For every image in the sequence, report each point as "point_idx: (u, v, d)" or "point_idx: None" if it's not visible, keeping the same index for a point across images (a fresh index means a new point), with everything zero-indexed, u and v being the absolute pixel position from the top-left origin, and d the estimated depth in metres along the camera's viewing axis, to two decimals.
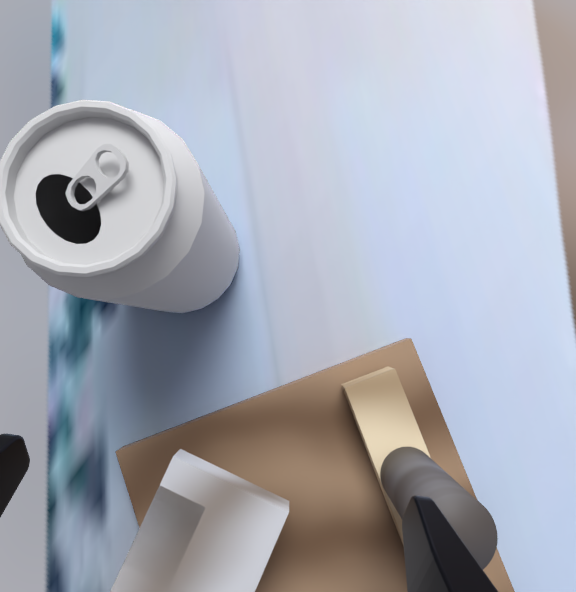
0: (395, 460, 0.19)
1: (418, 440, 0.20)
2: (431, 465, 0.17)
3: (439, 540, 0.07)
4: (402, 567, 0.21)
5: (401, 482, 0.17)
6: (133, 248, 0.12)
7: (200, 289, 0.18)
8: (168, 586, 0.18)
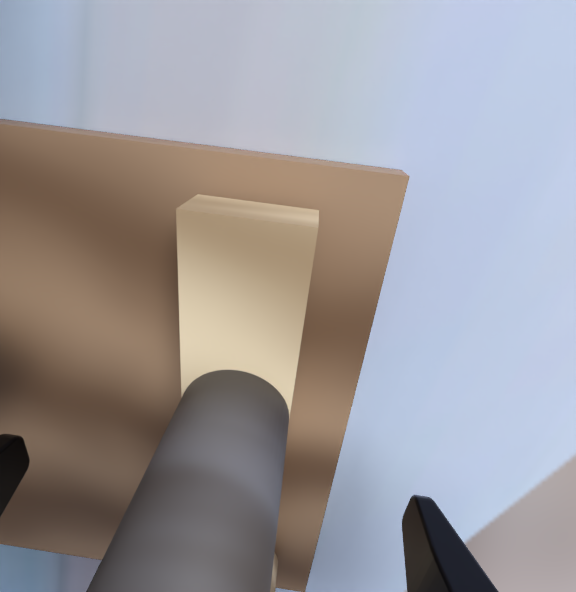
0: (206, 400, 0.09)
1: (285, 377, 0.10)
2: (246, 476, 0.07)
3: (439, 540, 0.07)
4: None
5: (156, 479, 0.07)
6: None
7: None
8: None
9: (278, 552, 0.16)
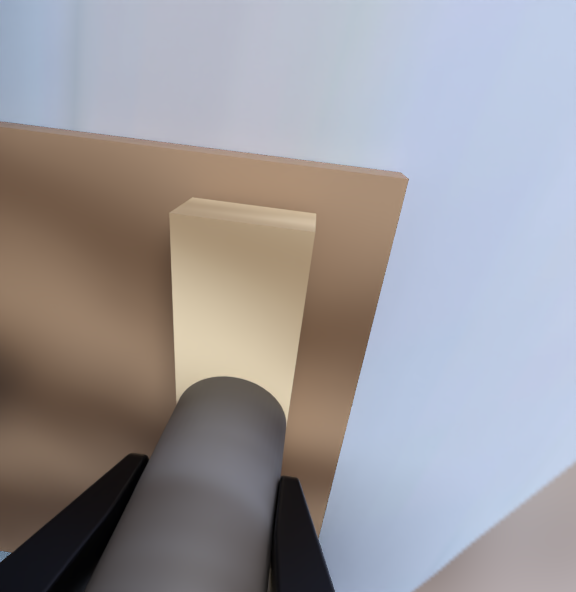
0: (201, 409, 0.08)
1: (281, 384, 0.09)
2: (241, 488, 0.07)
3: (287, 517, 0.07)
4: None
5: (148, 492, 0.07)
6: None
7: None
8: None
9: None
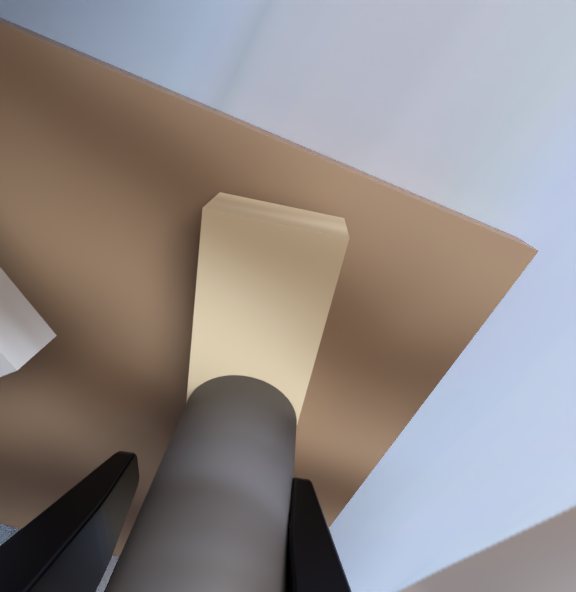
0: (218, 407, 0.08)
1: (296, 386, 0.09)
2: (263, 491, 0.07)
3: (301, 519, 0.07)
4: None
5: (170, 491, 0.07)
6: None
7: None
8: None
9: None
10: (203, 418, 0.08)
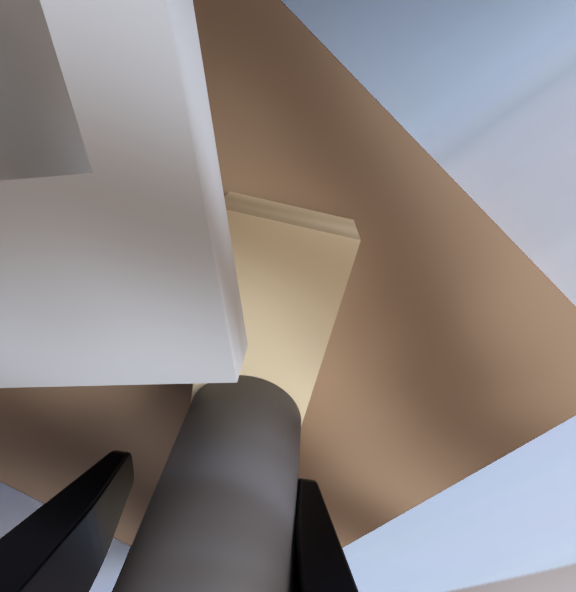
0: (224, 407, 0.08)
1: (302, 386, 0.09)
2: (271, 492, 0.07)
3: (307, 520, 0.07)
4: None
5: (178, 492, 0.07)
6: None
7: None
8: None
9: None
10: (210, 418, 0.08)
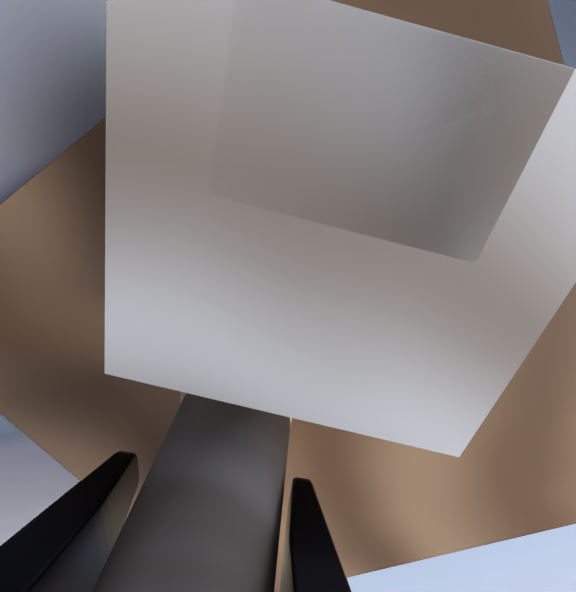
0: (207, 409, 0.08)
1: None
2: (249, 490, 0.07)
3: (301, 519, 0.07)
4: None
5: (156, 492, 0.07)
6: None
7: None
8: (211, 190, 0.05)
9: None
10: (192, 419, 0.08)
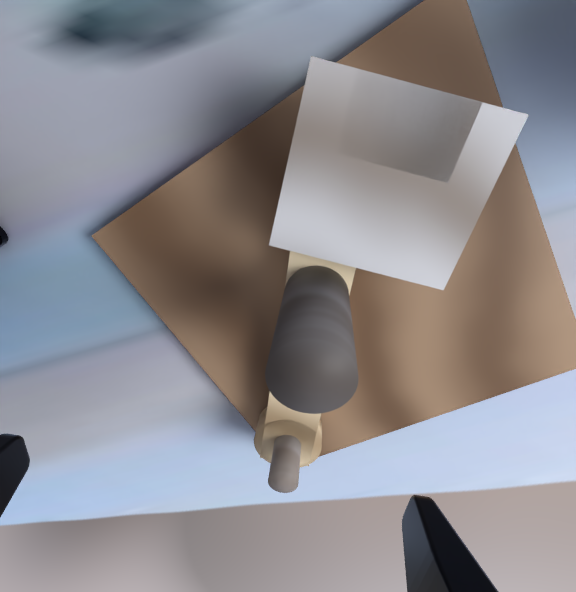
0: (309, 275, 0.16)
1: (348, 270, 0.17)
2: (339, 301, 0.14)
3: (439, 540, 0.07)
4: None
5: (296, 299, 0.14)
6: None
7: None
8: (335, 150, 0.12)
9: None
10: (302, 280, 0.15)
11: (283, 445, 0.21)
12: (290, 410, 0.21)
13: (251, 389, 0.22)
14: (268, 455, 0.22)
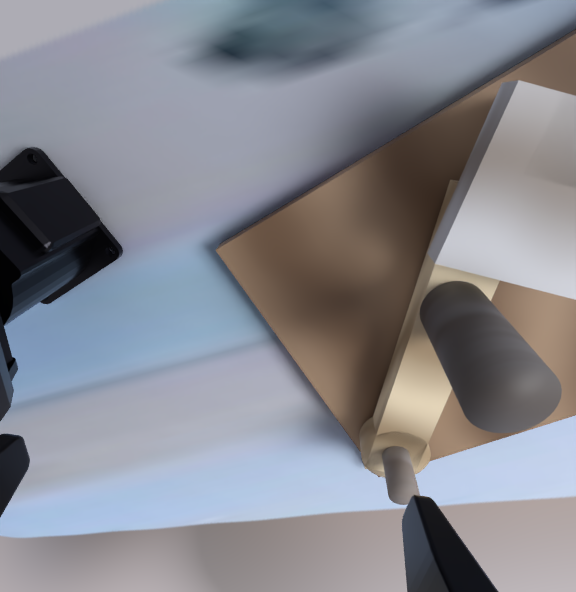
0: (460, 292, 0.16)
1: (490, 286, 0.17)
2: (506, 319, 0.14)
3: (439, 540, 0.07)
4: None
5: (466, 318, 0.14)
6: None
7: None
8: (524, 172, 0.13)
9: None
10: (455, 296, 0.16)
11: (396, 457, 0.21)
12: (404, 422, 0.21)
13: (356, 400, 0.23)
14: (373, 466, 0.22)
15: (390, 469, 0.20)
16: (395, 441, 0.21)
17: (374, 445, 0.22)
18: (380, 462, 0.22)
